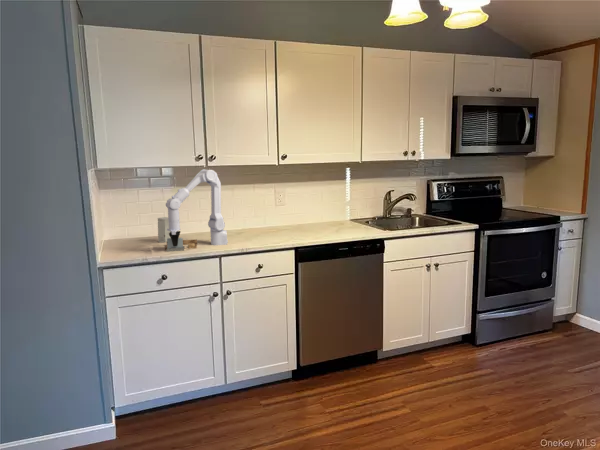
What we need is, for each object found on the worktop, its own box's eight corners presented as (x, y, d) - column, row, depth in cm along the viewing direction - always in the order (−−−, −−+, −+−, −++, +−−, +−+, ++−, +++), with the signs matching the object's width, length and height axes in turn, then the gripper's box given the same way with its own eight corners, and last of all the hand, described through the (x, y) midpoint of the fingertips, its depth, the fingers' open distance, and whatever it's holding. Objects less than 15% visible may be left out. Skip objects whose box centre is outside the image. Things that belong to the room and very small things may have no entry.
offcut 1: (194, 246, 255) (194, 243, 255) (194, 247, 252) (194, 244, 252) (188, 246, 254) (188, 243, 254) (189, 247, 252) (189, 244, 251)
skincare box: (158, 242, 273) (156, 217, 270) (166, 240, 277) (165, 216, 275) (165, 244, 267) (164, 219, 265) (174, 242, 272) (173, 217, 269)
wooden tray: (197, 245, 262) (196, 239, 262) (196, 249, 251) (196, 243, 250) (167, 246, 259) (166, 240, 259) (165, 251, 247) (164, 245, 247)
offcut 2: (194, 248, 256) (194, 245, 256) (194, 250, 252) (194, 247, 252) (188, 248, 255) (188, 246, 255) (188, 250, 251) (188, 247, 251)
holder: (184, 250, 249) (184, 246, 249) (184, 252, 245) (184, 247, 244) (167, 251, 247) (167, 247, 247) (167, 253, 243) (166, 248, 243)
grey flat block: (168, 251, 246) (167, 238, 245) (183, 250, 247) (182, 237, 246) (167, 251, 244) (167, 239, 243) (183, 250, 246) (182, 238, 245)
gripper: (167, 219, 249) (169, 243, 252) (165, 223, 235) (166, 248, 238) (180, 218, 251) (182, 242, 253) (179, 222, 237) (180, 247, 239)
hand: (175, 245), depth 245 cm, fingers open, 3 cm apart
